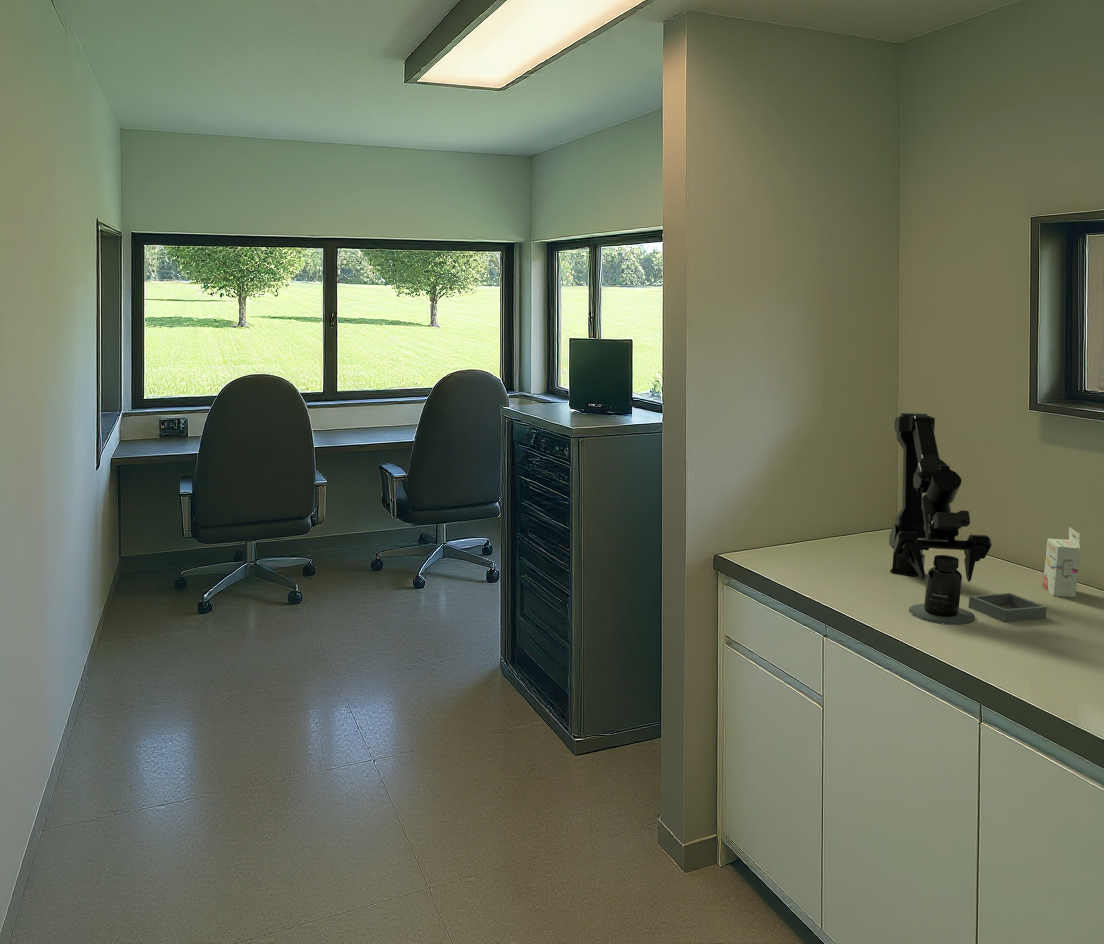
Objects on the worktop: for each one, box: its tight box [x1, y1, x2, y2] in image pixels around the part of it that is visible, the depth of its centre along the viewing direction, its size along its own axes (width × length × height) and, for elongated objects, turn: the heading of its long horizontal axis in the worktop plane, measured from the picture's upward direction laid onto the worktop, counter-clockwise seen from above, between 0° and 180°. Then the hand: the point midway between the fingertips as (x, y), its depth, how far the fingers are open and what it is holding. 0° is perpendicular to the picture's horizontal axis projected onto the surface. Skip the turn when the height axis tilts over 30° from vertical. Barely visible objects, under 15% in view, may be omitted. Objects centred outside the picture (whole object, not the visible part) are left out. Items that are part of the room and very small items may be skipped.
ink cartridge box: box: [1042, 526, 1081, 598], centre depth 218 cm, size 9×5×15 cm, turn 168°
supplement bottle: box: [923, 554, 963, 617], centre depth 200 cm, size 7×7×12 cm
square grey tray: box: [968, 592, 1048, 623], centre depth 203 cm, size 11×11×2 cm
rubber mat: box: [908, 603, 976, 625], centre depth 201 cm, size 13×13×1 cm
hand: (946, 579), depth 198 cm, fingers open, 9 cm apart
